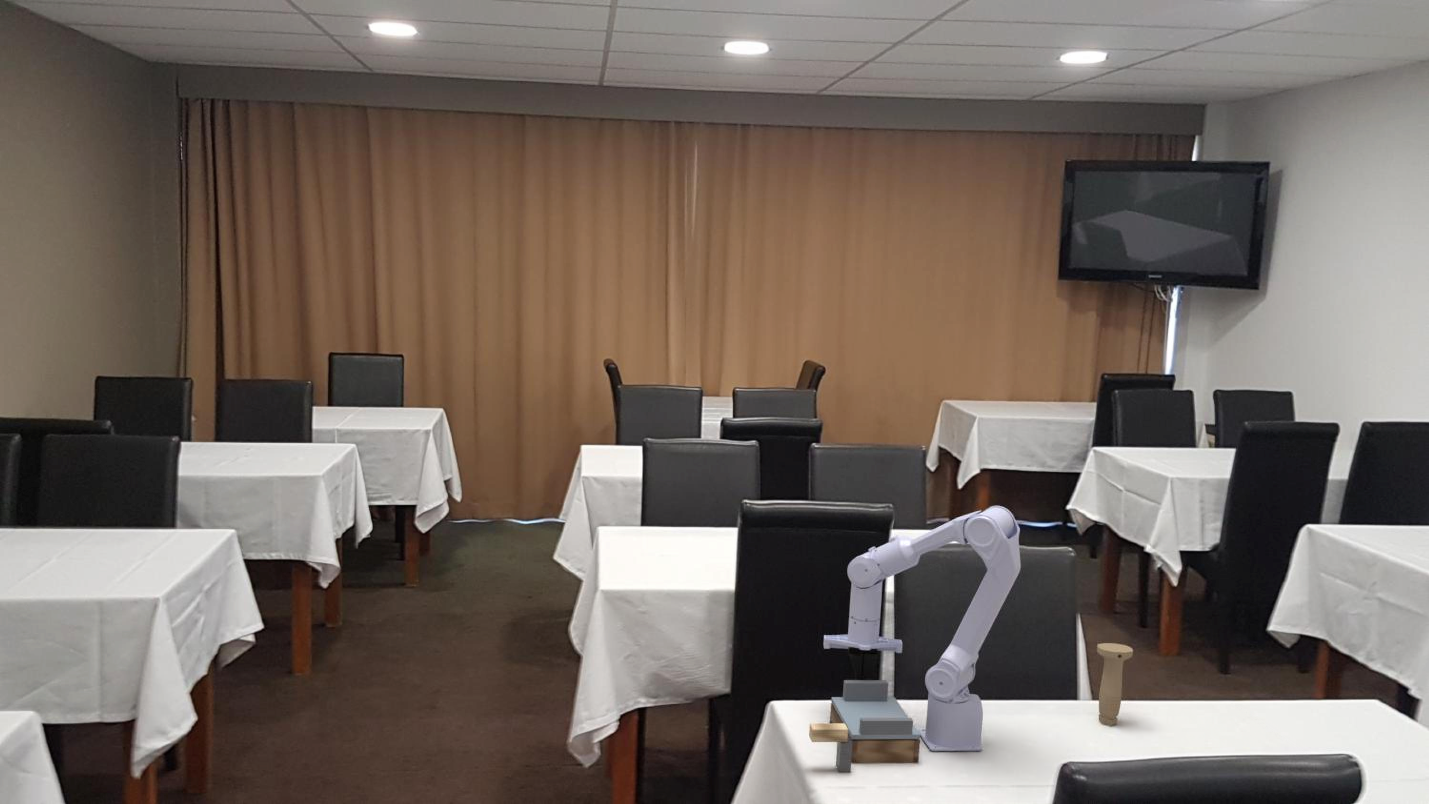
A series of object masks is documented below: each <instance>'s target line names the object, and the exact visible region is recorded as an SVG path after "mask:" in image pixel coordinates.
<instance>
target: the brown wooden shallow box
mask: <svg viewBox="0 0 1429 804" xmlns="http://www.w3.org/2000/svg"><path fill="white" fill-rule="evenodd" d="M829 716H830V717H829V723H843V722H842V720H841V718H840V716H839V715H838V713H837V711H836V709H835V707H834V705H833V704H832V702H831V703H830V714H829ZM848 737H850V739H851V741H852V743H853V745H852V759H851V764H906V763H907V764H908V763H909V764H910V763H911V764H914V763H915V764H916V763H917V764H919V757H920V745H921V744H920V743H921V740H920V739H852V738H851V736H850V735H849V733H848Z"/></svg>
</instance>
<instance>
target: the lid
mask: <svg viewBox="0 0 1429 804" xmlns="http://www.w3.org/2000/svg"><path fill="white" fill-rule="evenodd" d="M888 692H889V683H888V681H887V680H886V679H885V680H883V679H882V680H880V679H878V680H877V679H875V680H874V679H866V680H856V679H846V680H845V679H844V680H843V689H842V696H832V697H831V698H830V699H831V700H830V702H831V703H832V704H833V705H834V707H835V709H836V711H837V713H838V715H839V716H840V718H841V720H842V722H843V723H845V725H846V727H847V728H848V733H849V735H850V736H851V738H852V739H919V740H920V739H921V736H920V733H919V732H918V730H919V729H917V727H916V726H915V725H914V720H913V718H912V717H909V716H908V715H907V713H906V711H905V710H904V708H903V707H902V705H900V703H899V702H898V701H897V698H896V697H894V696H890V697H889V696H888Z"/></svg>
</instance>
